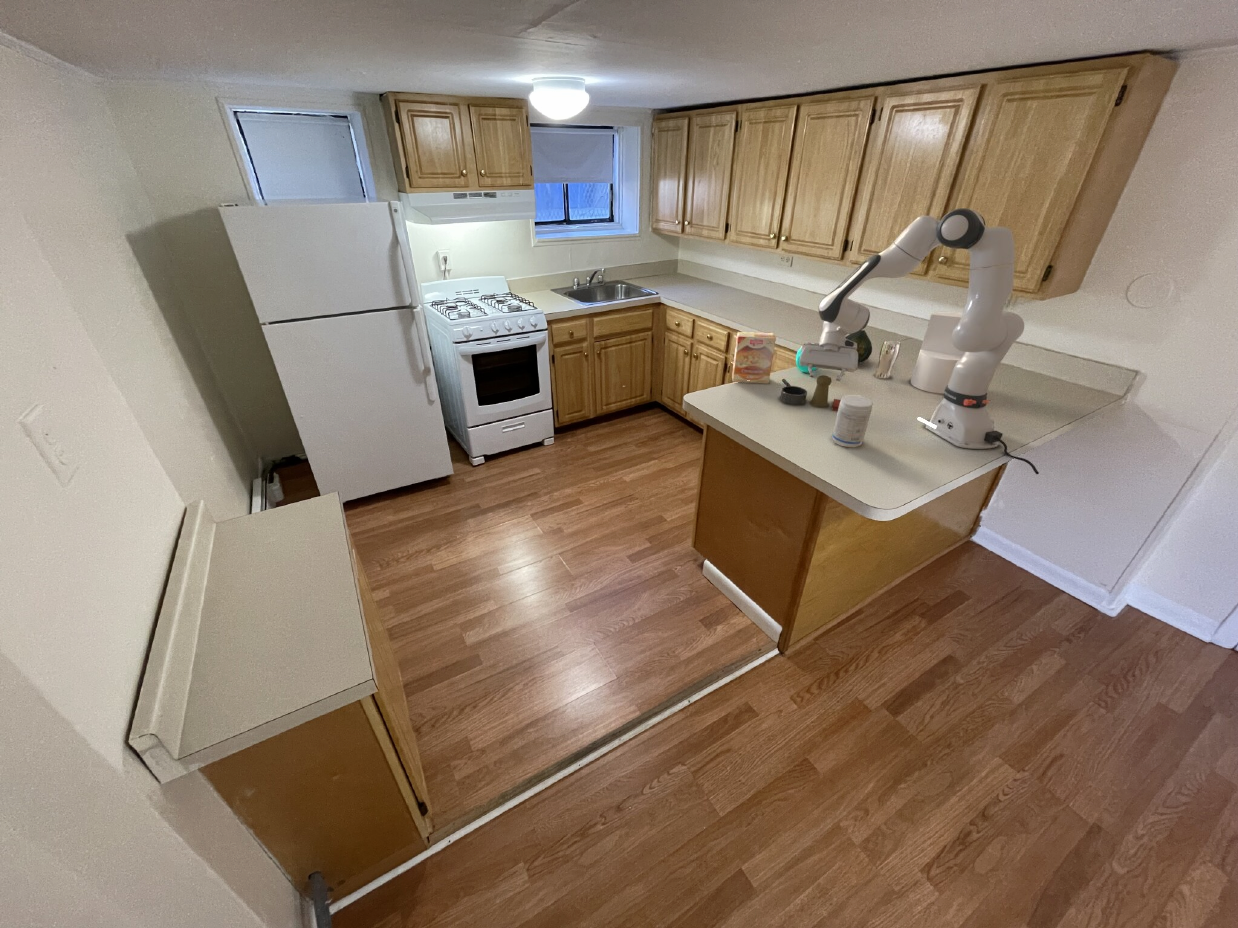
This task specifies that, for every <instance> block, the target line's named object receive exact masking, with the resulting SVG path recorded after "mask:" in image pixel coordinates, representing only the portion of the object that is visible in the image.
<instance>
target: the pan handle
mask: <svg viewBox="0 0 1238 928" xmlns="http://www.w3.org/2000/svg"><path fill="white" fill-rule="evenodd" d="M781 382H782V383H783V385H784V386H785V387H786V386H792V385H791V384H790V383H789V382H788V381H787V379H786V378H782V380H781Z"/></svg>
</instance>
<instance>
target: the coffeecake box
mask: <svg viewBox="0 0 1238 928" xmlns="http://www.w3.org/2000/svg"><path fill="white" fill-rule="evenodd" d="M776 341H777V337H776V335H775V333H774V332H757V331H756V332H755V331H753V332H752V331H737V333H736V341H735V346H734V347H735V348H734V349H735V350H734V356H733V364H732V372H731V378H732V379H731V380H732V382H733V383H743V382H742V381H745V382H744V383H749V384H750V383H752V384H769V383H770V378H771V371H772V366H773V359H774V354H775V353H774V352H775V347H776ZM747 380H750V381H747Z"/></svg>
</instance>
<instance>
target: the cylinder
mask: <svg viewBox="0 0 1238 928" xmlns="http://www.w3.org/2000/svg"><path fill="white" fill-rule="evenodd" d="M962 315H963V312H959V311H958V312H957V311H934V312H932V313H931V314H930V318H929V320H928V324H927V327H926V330H925V334H924V337H923V340H922V344H921V346H920V350H919V353H918V356H917V358H916V361H915V362H916V363H915V365H914V369H913V372H912V375H911V378H910V385H912V387H915V388H916V389H919V390H921V391H924V392H928V393H932V394H933V393H934V394H942V395H943V393H944V390H945V388H946V386H947V385H948V384H949V381H950V378H951V376H952V373H953V370H954V367H955V365H956V363H957V362H958V361H959V360H960V359H961V358H962V356H963V355H964V354H965V353H966V352H963V351H960V350H958V349H957V348H956V347H955V346H954V345H953V342H952V333H953V330H954V329H955V327H956V326H957V325H958V324H959V322H960V320H961V318H962Z"/></svg>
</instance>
